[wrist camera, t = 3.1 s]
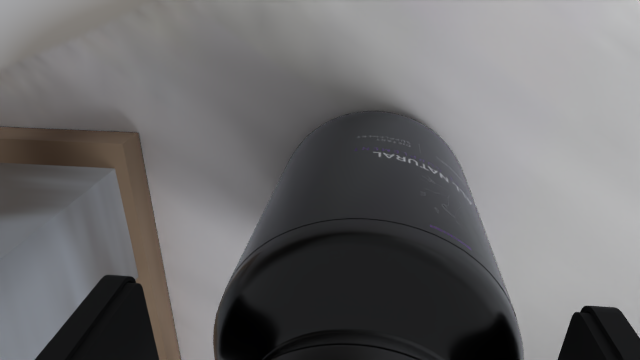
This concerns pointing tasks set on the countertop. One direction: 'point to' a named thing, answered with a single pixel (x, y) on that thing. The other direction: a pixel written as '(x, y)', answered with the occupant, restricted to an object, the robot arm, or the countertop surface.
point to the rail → (135, 200)
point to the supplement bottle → (368, 256)
